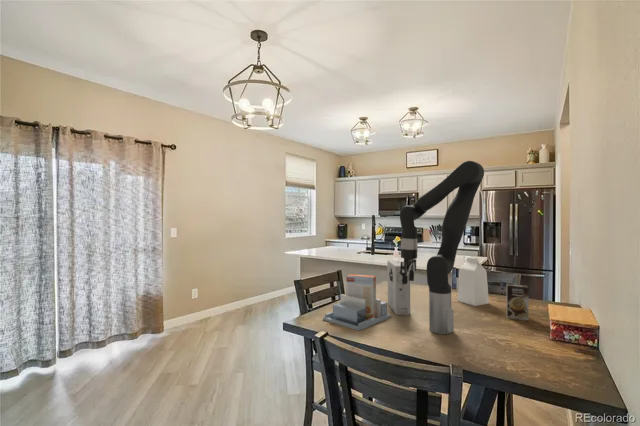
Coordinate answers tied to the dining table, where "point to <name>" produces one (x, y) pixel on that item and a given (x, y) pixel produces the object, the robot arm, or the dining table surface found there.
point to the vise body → (380, 314)
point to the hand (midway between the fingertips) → (408, 282)
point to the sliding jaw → (350, 310)
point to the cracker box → (363, 291)
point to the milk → (472, 283)
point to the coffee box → (517, 302)
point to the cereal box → (398, 289)
